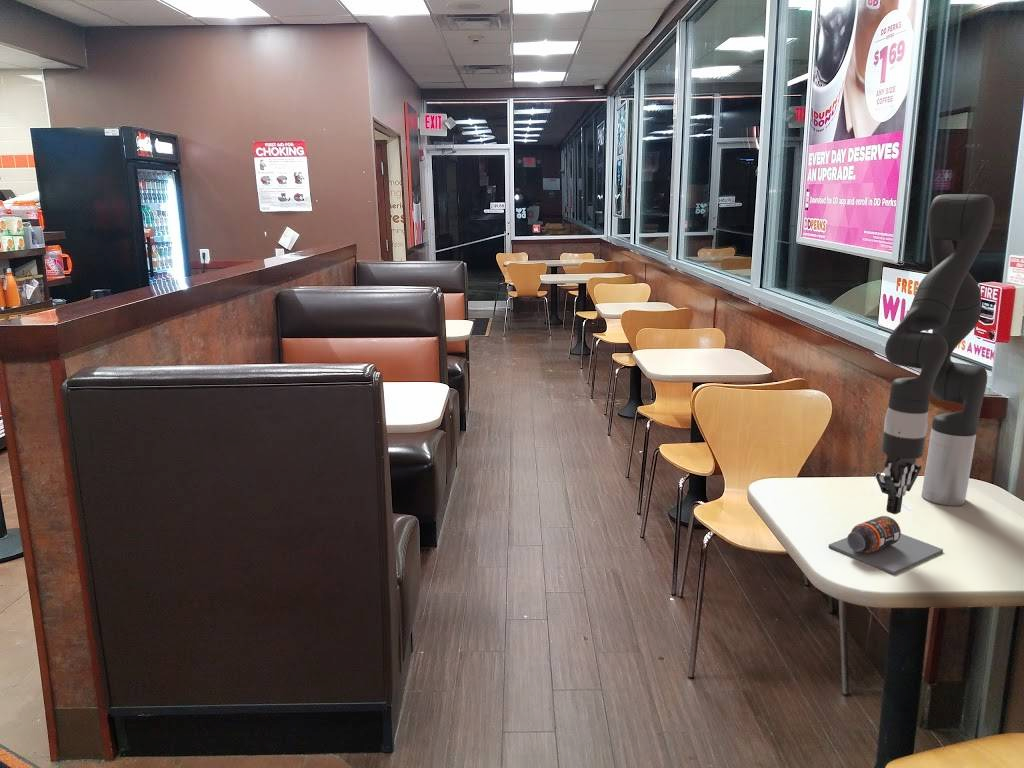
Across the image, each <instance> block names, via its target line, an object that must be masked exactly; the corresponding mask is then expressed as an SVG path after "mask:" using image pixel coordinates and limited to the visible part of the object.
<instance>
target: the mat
mask: <svg viewBox="0 0 1024 768" xmlns="http://www.w3.org/2000/svg"><path fill="white" fill-rule="evenodd" d="M828 548H830V549H832V550H834V551H836V552H839V553H841V554H844V555H846V556H848V557H851V558H853V559H856V560H858V561H860V562H863V563H865V564H866V565H867V564H868V565H870V566H872V567H875V568H877V569H879V570H882V571H883V572H886V573H888V574H891V575H893V576H894V575H896V574H899V573H901V572H902V571H905V570H907V569H910V568H912V567H913V566H916V565H918V564H920V563H922V562H925V561H926V560H929V559H930V558H931V559H932V558H934V556H938V555H939V554H941V553H944V548H941V547H938V546H935V545H933V544H930V543H927V542H924V541H922V540H919V539H916V538H914V537H911V536H909V535H906V534H903V533H901V535H900V538H899V540H898V541H897V542H896V543H894V544H892V545H889V546H887V547H884V548H882V549H879V550H877V551H874V552H871V553H864V552H861V551H860V552H857V551H854V550H853V549H851V548H850V546H849V545H848V542H847V537H844V538H842V539H839V540H837V541H834V542H832V543H829V544H828Z"/></svg>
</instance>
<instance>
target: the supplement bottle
mask: <svg viewBox="0 0 1024 768" xmlns="http://www.w3.org/2000/svg"><path fill="white" fill-rule="evenodd" d="M901 534H902V532H901V527H900V526H899V523H898V522H897V521H896V520H895V519H894V518H892V517H890V516H887V515H881V516H877V517H875V518H873V519H870V520H867V521H864V522H860V523H859V524H857V525H854V527H853V528H852V529H851V530H850V533H849V534H847V537H846V538H847V542H848V545H849V546H850V548H851V549H853V550H854V551H857V552H860V551H861V552H864V553H871V552H874V551H877V550H879V549H882V548H884V547H887V546H889V545H892V544H894V543H896V542H897V541H898V540H899V538H900V535H901Z"/></svg>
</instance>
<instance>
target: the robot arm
mask: <svg viewBox="0 0 1024 768" xmlns="http://www.w3.org/2000/svg"><path fill="white" fill-rule="evenodd" d="M994 218H995V203H994V200H993V198H992V197H991V196H989V194H988V195H987V194H979V193H978V194H976V193H975V194H969V193H960V194H958V193H957V194H954V193H949V194H947V193H946V194H944V193H943V194H939V195H937V196H935V197H934V198H933V200H932V202H931V204H930V206H929V212H928V236H929V237H928V238H929V245H930V254H931V255H930V257H931V267H932V269H931V270H930V271H929V272H928V273H926V275H925V276H924V277H923V278H922V280H921V281H920V283H919V284H918V286H917V288H916V292H915V293H914V297H913V299H912V302H911V305H910V307H909V309H908V311H907V313H906V314H905V316H904V317H903V318H902V319H901V321H900V322H899V323H898V324H897V326H896V327H895V329H893V331H892V332H891V334H890V335H889V337H888V339H887V340H886V343H885V349H884V354H885V357H886V360H888V362H889V363H890V364H892V365H895V366H899V367H906V368H913V369H914V368H915V369H919V370H921V371H920V373H919V375H917V376H914V377H898V378H895V379H894V380H893V381H892V382H891V385H890V390H889V398H888V406H887V411H886V413H885V418H884V426H883V431H882V432H883V433H882V437H881V438H882V440H881V446H880V449H881V452H882V453H884V454H885V455H886V459H885V462H884V464H883V466H884V470H883V471H882V472H876V474H875V477H876V481H877V484H878V486H879V489H880V491H881V494H886V495H887V501H886V509H885V510H886V512H887V513H890V514H893V515H897V514H899V513H901V512H902V506H903V505H902V503H903V497H904V496H906V493H907V492H910V491H911V489H912V487H913V486H914V484H915V481H916V479H917V478H918V476H919V474H920V473H921V470H922V466H921V465H920V464H917V463H916V462H917V459H920V458H921V457H923V455H924V451H925V444H926V438H927V430H928V420H929V419H928V418H929V416H928V415H929V414H928V413H929V407H930V402H931V401H930V400H931V395H932V396H933V398H935V399H936V400H939V401H944V402H950V403H955V404H962V405H963V406H962V409H960V410H958V411H954V412H947V413H939V414H937V415H935V416H934V417H933V418H932V423H931V428H930V429H931V430H930V436H929V443H928V444H929V445H928V450H927V454H926V455H927V456H926V462H925V463H926V465H925V468H924V469H925V470H924V476H923V484H922V487H921V488H922V490H921V497H922V498H923V499H924V500H927V501H928V502H932V503H934V504H938V505H941V506H942V505H944V506H950V507H952V506H954V507H955V506H956V507H957V506H963V505H964V504H965V503H966V499H967V498H966V497H967V492H968V486H969V480H970V475H971V469H972V463H973V457H974V456H973V455H974V451H975V444H976V440H977V439H976V438H977V431H978V427H979V421H980V417H981V416H980V415H981V410H982V406H983V403H984V397H985V392H986V388H987V384H988V373H987V370H986V368H985V367H984V366H981V365H975V364H970V363H961V362H954V361H952V360H951V358H952V357H951V356H952V353H953V352H954V351H955V349H956V348H957V346H958V345H959V344H961V342H962V341H963V340H964V339H966V337H968V335H970V333H971V332H972V331H973V330H974V329H975V327H976V326H977V325H978V323H979V322H980V319H981V311H982V310H981V306H982V291H981V287H980V286H979V285H978V282H977V281H976V280H975V278H974V276H973V275H972V274H971V273H970V272H969V271H970V269H971V267H972V266H973V264H974V262H975V260H976V258H977V256H978V254H979V252H981V249H982V247H983V246H984V243H985V242H986V240H987V238H988V236H989V233H990V231H991V228H992V226H993V223H994ZM953 241H961V242H960V244H959V245H958V246H957V247H956V249H955V247H954V244H953ZM931 330H932V332H926V331H931ZM924 331H925V332H924Z"/></svg>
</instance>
